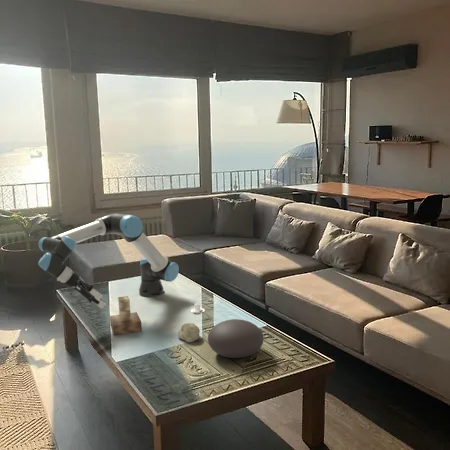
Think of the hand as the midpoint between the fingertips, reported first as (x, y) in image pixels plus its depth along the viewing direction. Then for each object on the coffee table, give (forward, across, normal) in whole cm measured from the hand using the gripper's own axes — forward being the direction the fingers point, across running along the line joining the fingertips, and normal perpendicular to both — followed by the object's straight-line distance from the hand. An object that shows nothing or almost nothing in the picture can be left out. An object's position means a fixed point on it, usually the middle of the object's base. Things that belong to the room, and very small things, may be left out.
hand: (102, 302), depth 247 cm
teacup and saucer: (+46, -9, +22) cm, 52 cm away
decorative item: (+38, +25, +15) cm, 48 cm away
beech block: (+15, 0, 0) cm, 15 cm away
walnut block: (+18, 0, -4) cm, 19 cm away
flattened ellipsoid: (+48, +49, +26) cm, 74 cm away
